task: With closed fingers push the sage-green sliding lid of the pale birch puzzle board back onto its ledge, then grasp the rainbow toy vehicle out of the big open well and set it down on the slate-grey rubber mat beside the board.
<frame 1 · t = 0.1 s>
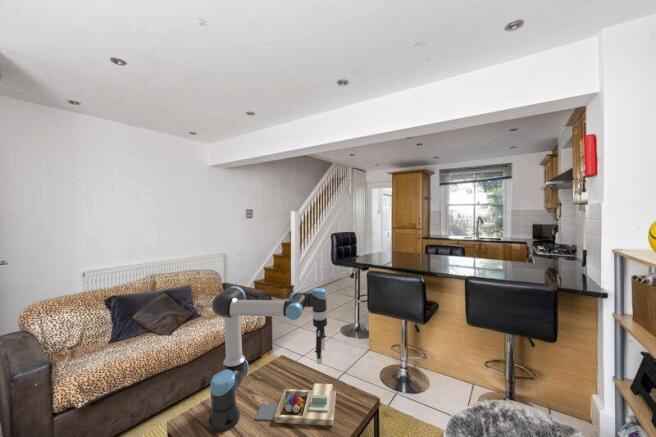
hand: (321, 356, 148), 28 cm above the table, fingers open, 13 cm apart
lid: (319, 400, 147), point 5 cm above the table, slide at 0.0 cm
rainbow toy vehicle: (294, 408, 149), resting in board
board: (306, 408, 148), on the table
mat: (268, 412, 146), on the table
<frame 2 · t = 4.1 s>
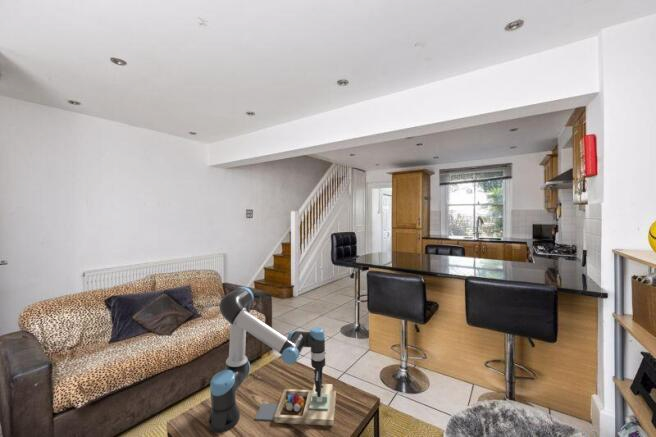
hand: (319, 400, 146), 5 cm above the table, fingers closed
lid: (319, 398, 148), point 5 cm above the table, slide at 1.1 cm, touching gripper
everything else where it was.
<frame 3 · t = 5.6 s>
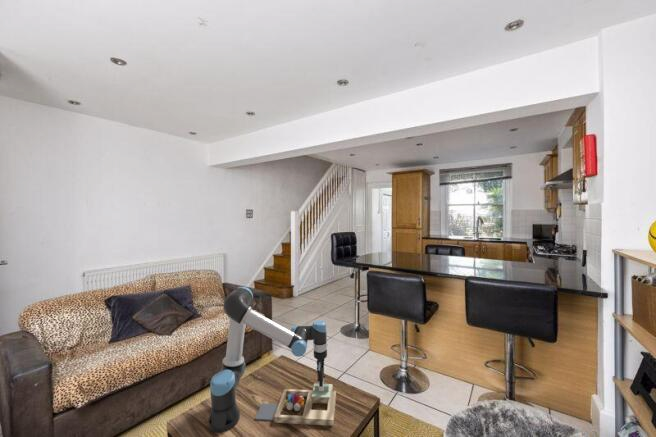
hand: (321, 390, 155), 5 cm above the table, fingers closed
lid: (321, 388, 156), point 5 cm above the table, slide at 9.6 cm, touching gripper
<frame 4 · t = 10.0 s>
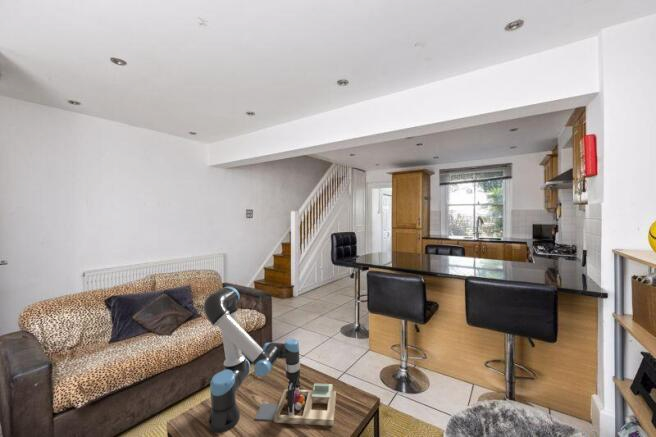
hand: (294, 407, 149), 0 cm above the table, fingers open, 12 cm apart
lid: (321, 388, 156), point 5 cm above the table, slide at 9.7 cm
rainbow toy vehicle: (296, 406, 150), resting in board, touching gripper
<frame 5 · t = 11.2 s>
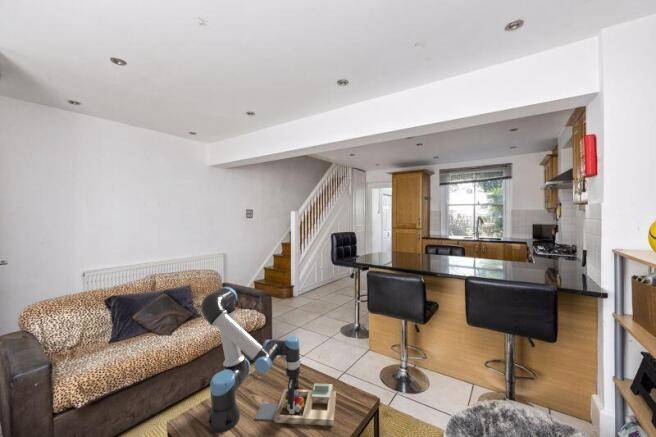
hand: (293, 407, 148), 0 cm above the table, fingers closed on rainbow toy vehicle, 8 cm apart
rainbow toy vehicle: (295, 408, 148), resting in board, touching gripper
everything else where it was.
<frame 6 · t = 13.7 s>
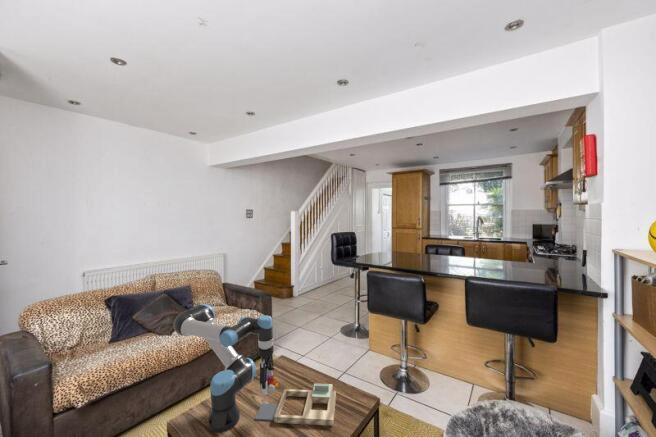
hand: (267, 387, 145), 13 cm above the table, fingers closed on rainbow toy vehicle, 8 cm apart
rainbow toy vehicle: (269, 388, 145), point 13 cm above the table, touching gripper
everything else where it was.
when the fingers open (2 cm above the table, at t = 16.1 s): rainbow toy vehicle stays where it is, resting on board, mat.
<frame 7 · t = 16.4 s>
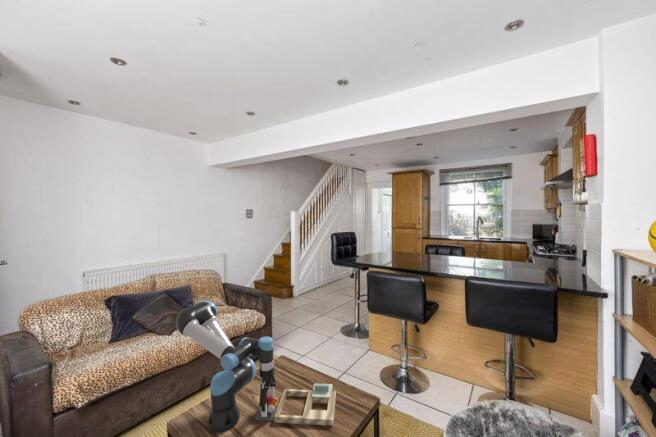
hand: (268, 407, 146), 3 cm above the table, fingers open, 12 cm apart
rainbow toy vehicle: (270, 409, 146), point 2 cm above the table, touching board, mat
everything else where it was.
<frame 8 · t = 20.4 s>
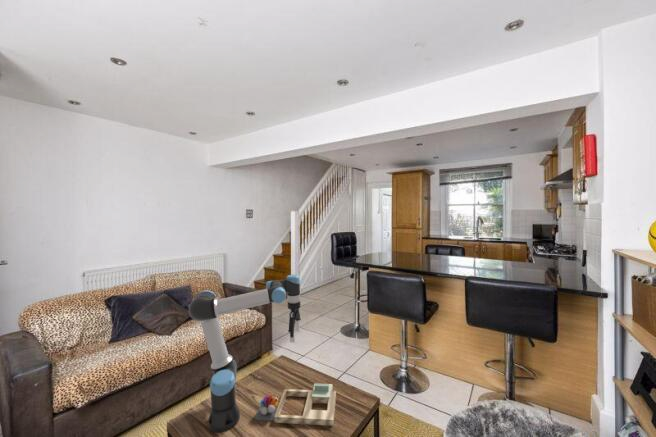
hand: (295, 336, 163), 32 cm above the table, fingers open, 13 cm apart
nothing on the table moved.
at the end: lid slide at 9.7 cm; rainbow toy vehicle inside the target area on the mat (1.4 cm from its centre), point 1.6 cm above the mat's base; the gripper is holding nothing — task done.
